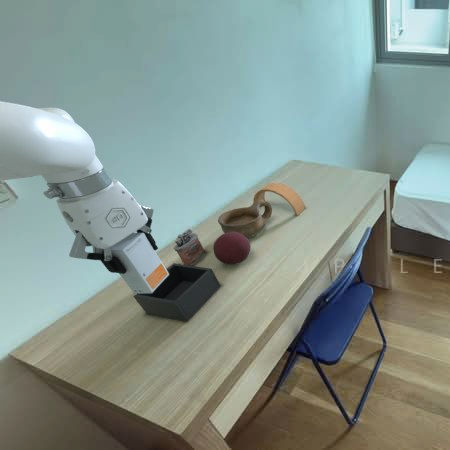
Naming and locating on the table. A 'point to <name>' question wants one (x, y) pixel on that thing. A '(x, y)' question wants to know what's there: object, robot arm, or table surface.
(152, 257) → the cosmetic box
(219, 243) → the decorative ball
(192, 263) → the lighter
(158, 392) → the table surface
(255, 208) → the bowl
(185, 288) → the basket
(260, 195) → the arch
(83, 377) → the table surface
